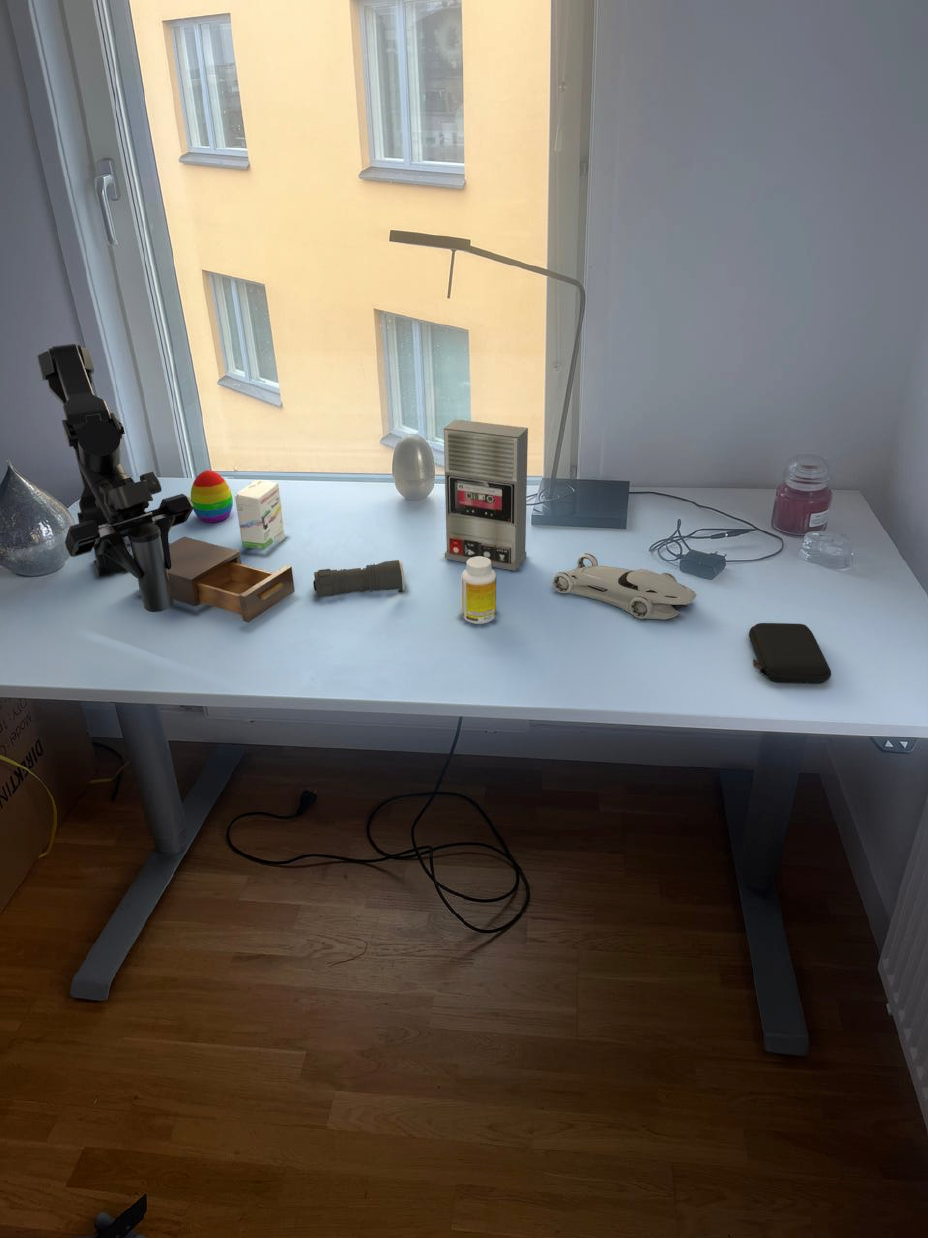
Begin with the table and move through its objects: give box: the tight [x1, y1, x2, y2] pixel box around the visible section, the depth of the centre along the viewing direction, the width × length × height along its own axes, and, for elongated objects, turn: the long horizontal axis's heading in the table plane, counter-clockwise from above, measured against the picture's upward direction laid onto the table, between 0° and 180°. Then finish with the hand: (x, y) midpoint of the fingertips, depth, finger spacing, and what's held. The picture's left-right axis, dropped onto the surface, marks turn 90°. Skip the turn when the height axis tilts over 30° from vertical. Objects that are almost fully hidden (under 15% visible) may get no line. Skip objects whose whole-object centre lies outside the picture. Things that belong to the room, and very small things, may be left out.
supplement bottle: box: [461, 556, 497, 625], centre depth 152 cm, size 6×6×10 cm
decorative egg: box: [190, 469, 234, 523], centre depth 188 cm, size 8×8×10 cm
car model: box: [552, 552, 697, 621], centre depth 158 cm, size 11×24×5 cm, turn 55°
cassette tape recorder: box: [443, 419, 529, 572], centre depth 166 cm, size 14×6×25 cm, turn 68°
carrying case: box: [748, 622, 832, 685], centre depth 141 cm, size 11×3×15 cm
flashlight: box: [312, 559, 406, 598], centre depth 160 cm, size 15×5×5 cm, turn 102°
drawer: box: [196, 561, 296, 623], centre depth 157 cm, size 14×12×6 cm
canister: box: [127, 524, 174, 613], centre depth 141 cm, size 5×5×13 cm
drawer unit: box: [138, 536, 243, 607], centre depth 162 cm, size 13×12×6 cm
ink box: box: [234, 479, 286, 550], centre depth 176 cm, size 8×5×12 cm, turn 163°
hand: (155, 573), depth 140 cm, fingers closed on canister, 4 cm apart
